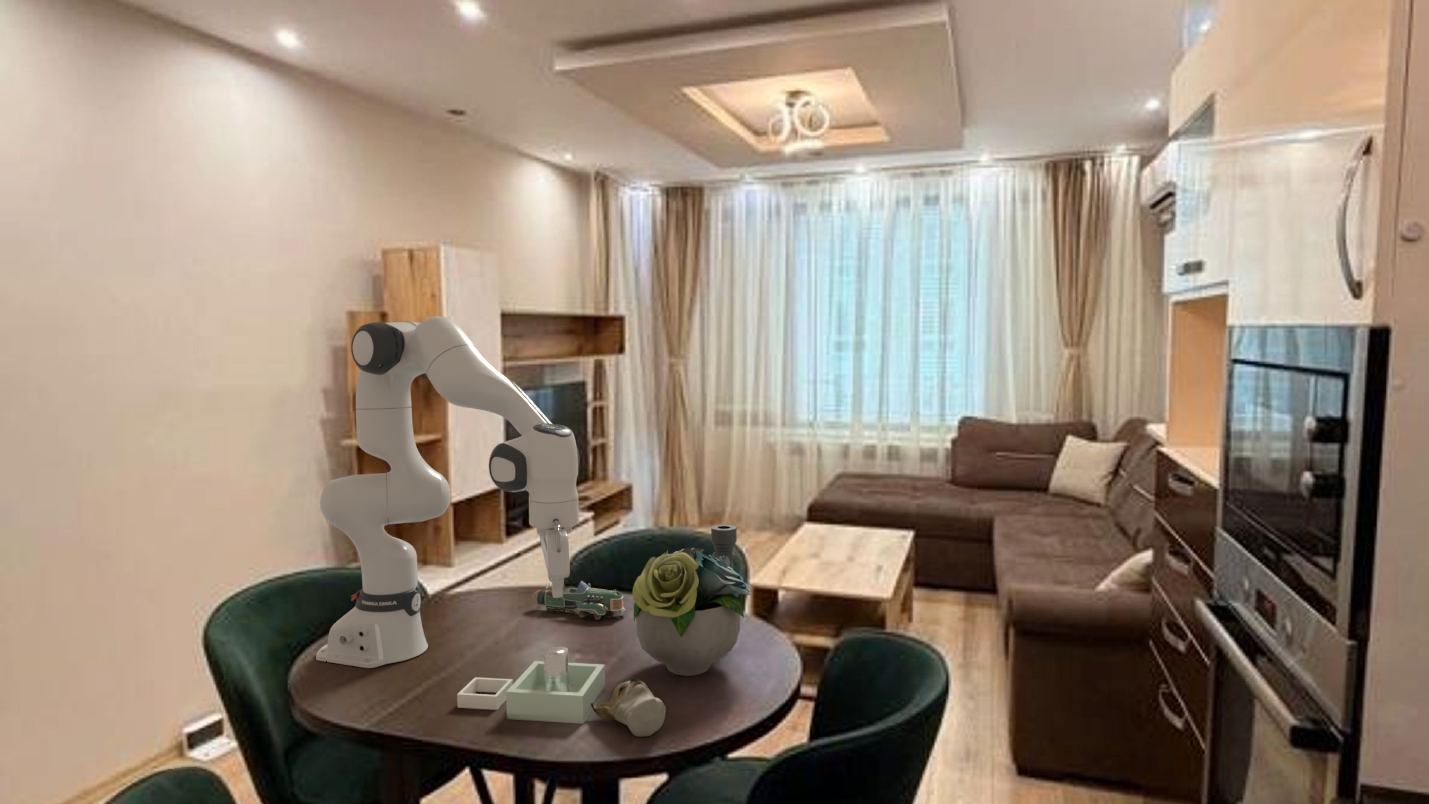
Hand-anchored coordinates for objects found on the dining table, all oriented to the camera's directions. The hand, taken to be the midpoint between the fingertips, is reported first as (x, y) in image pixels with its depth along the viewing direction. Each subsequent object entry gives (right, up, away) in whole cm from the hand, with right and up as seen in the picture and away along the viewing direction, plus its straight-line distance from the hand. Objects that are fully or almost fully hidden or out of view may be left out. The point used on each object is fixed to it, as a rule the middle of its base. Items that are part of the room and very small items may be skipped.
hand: (555, 588), depth 149 cm
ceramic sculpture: (+15, -23, -7) cm, 28 cm away
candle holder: (+31, -19, +35) cm, 51 cm away
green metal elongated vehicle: (-5, -18, +52) cm, 55 cm away
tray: (0, -22, +1) cm, 22 cm away
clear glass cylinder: (0, -21, +1) cm, 21 cm away
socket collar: (-14, -22, +3) cm, 26 cm away
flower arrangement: (+24, -21, +17) cm, 36 cm away
